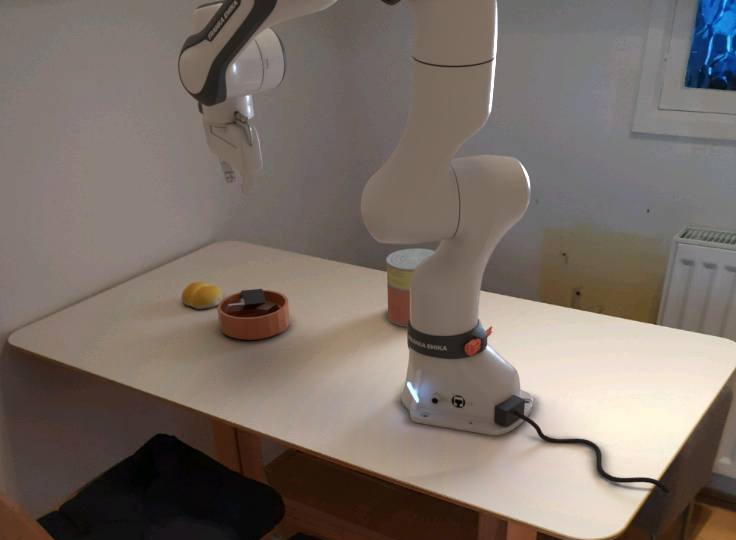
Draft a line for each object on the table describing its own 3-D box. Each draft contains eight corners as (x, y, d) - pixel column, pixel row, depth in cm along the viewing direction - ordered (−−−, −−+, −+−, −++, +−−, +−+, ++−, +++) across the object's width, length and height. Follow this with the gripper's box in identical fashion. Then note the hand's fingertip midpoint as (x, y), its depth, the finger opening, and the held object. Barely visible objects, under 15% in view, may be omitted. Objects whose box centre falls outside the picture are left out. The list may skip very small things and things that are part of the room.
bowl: (303, 320, 169) (301, 297, 166) (261, 347, 160) (258, 324, 157) (250, 307, 176) (247, 285, 173) (207, 333, 167) (203, 310, 164)
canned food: (449, 322, 165) (451, 264, 158) (396, 330, 163) (394, 272, 156) (432, 300, 174) (433, 245, 166) (381, 308, 172) (379, 252, 165)
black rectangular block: (262, 308, 170) (259, 294, 171) (266, 302, 168) (262, 287, 168) (225, 312, 167) (222, 298, 168) (228, 305, 165) (224, 291, 165)
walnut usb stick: (267, 317, 170) (266, 301, 168) (279, 318, 169) (278, 303, 167) (246, 328, 164) (245, 313, 162) (259, 330, 163) (258, 315, 161)
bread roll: (204, 313, 175) (201, 295, 172) (177, 304, 179) (173, 286, 177) (232, 299, 180) (229, 282, 177) (204, 291, 184) (201, 273, 182)
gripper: (266, 115, 139) (275, 198, 147) (225, 95, 153) (236, 172, 162) (231, 120, 137) (242, 205, 145) (193, 100, 151) (205, 178, 160)
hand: (238, 187), depth 154 cm, fingers open, 8 cm apart
